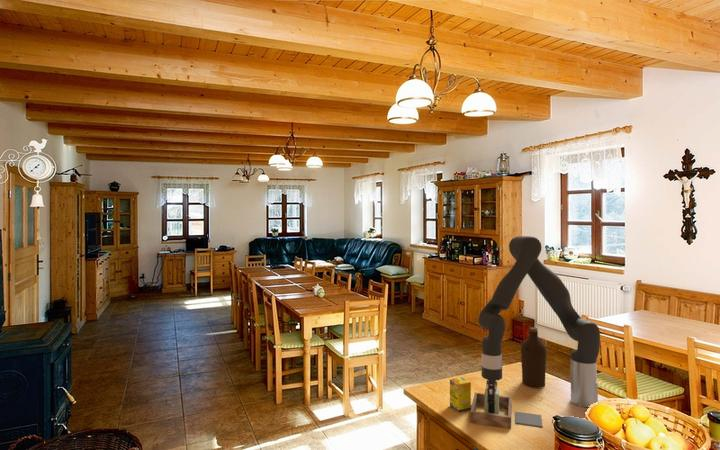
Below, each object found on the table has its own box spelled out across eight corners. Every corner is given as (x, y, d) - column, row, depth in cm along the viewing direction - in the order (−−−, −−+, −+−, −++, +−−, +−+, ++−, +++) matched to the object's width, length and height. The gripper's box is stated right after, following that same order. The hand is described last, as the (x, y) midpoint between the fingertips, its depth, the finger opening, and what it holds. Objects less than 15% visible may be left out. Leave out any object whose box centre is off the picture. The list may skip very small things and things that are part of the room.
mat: (541, 416, 162) (541, 415, 162) (542, 427, 154) (542, 426, 154) (515, 412, 166) (515, 411, 166) (515, 423, 157) (515, 422, 157)
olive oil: (547, 390, 186) (547, 332, 185) (520, 386, 190) (520, 330, 189) (546, 381, 196) (546, 326, 195) (521, 378, 199) (520, 324, 199)
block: (499, 412, 166) (499, 389, 165) (498, 418, 161) (498, 394, 161) (485, 410, 167) (485, 387, 167) (484, 416, 163) (484, 392, 162)
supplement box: (449, 406, 172) (449, 378, 171) (462, 403, 174) (461, 376, 174) (458, 412, 166) (458, 384, 166) (471, 409, 169) (471, 381, 168)
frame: (511, 407, 170) (511, 396, 170) (511, 428, 153) (511, 417, 153) (474, 402, 175) (474, 392, 175) (470, 422, 158) (470, 411, 158)
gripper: (501, 372, 156) (501, 419, 156) (502, 359, 169) (502, 402, 170) (479, 370, 158) (480, 416, 159) (482, 357, 172) (483, 400, 172)
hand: (491, 409), depth 164 cm, fingers closed on block, 5 cm apart
